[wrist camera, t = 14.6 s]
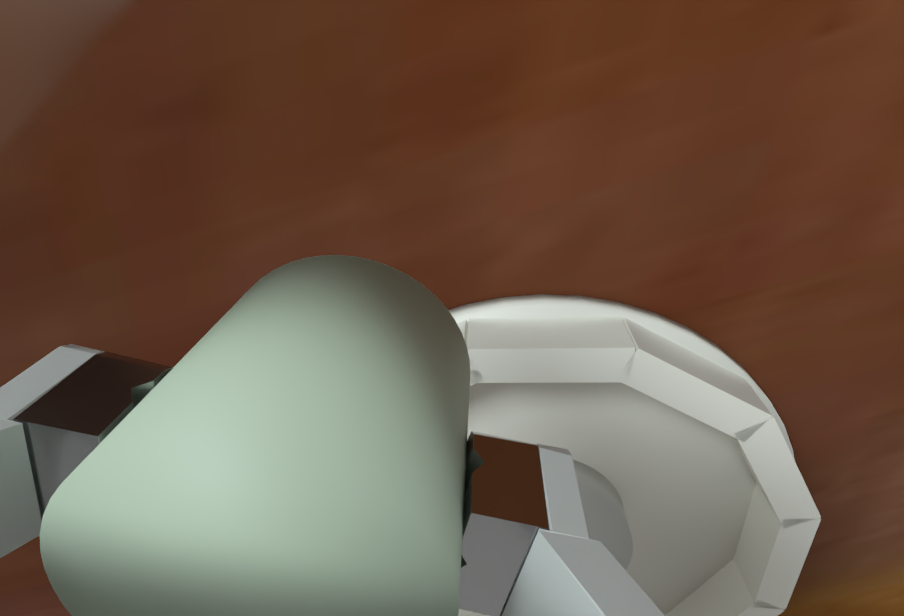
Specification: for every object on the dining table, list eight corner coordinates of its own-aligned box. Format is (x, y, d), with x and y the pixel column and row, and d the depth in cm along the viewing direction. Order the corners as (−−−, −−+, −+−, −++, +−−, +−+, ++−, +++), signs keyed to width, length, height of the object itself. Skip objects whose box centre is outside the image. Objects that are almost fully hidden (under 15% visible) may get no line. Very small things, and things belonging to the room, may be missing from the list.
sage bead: (341, 493, 11) (260, 746, 7) (177, 344, 9) (-41, 556, 6) (519, 393, 9) (542, 640, 6) (357, 202, 8) (235, 351, 4)
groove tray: (463, 678, 37) (460, 736, 34) (208, 435, 28) (173, 485, 25) (846, 568, 29) (889, 630, 26) (667, 184, 20) (699, 210, 17)
